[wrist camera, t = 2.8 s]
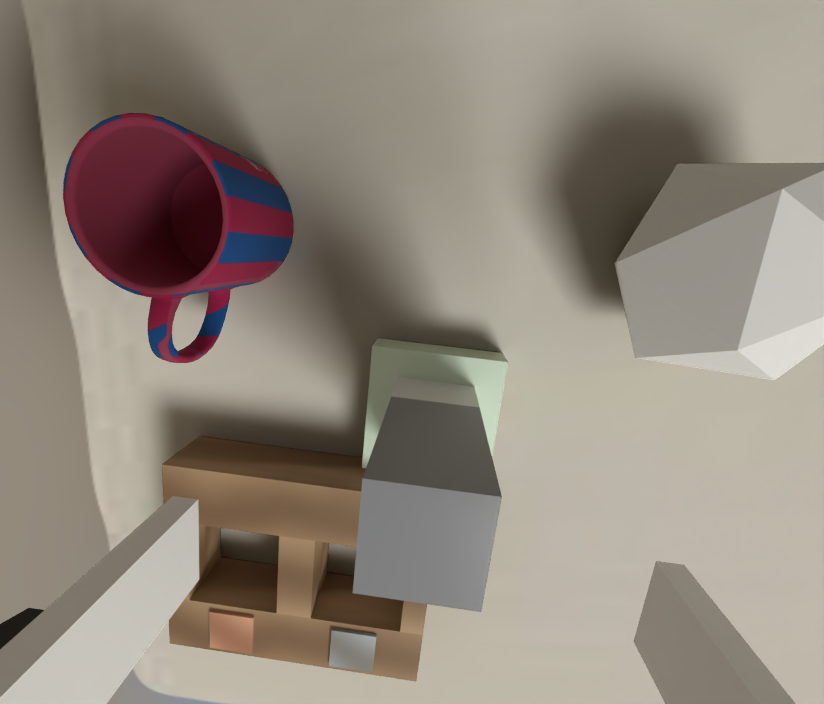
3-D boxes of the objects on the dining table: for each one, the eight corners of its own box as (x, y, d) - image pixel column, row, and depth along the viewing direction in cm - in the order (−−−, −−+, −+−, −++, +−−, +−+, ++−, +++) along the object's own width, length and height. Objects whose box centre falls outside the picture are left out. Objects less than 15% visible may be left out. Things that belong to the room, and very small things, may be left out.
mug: (304, 174, 22) (244, 138, 15) (272, 353, 24) (208, 392, 17) (181, 141, 22) (66, 91, 15) (161, 324, 24) (55, 350, 17)
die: (604, 373, 24) (849, 449, 15) (533, 274, 18) (848, 312, 10) (674, 255, 25) (938, 268, 17) (626, 130, 19) (977, 62, 11)
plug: (398, 377, 22) (362, 478, 12) (474, 386, 21) (501, 497, 12) (390, 446, 23) (352, 593, 13) (464, 456, 22) (481, 611, 13)
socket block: (199, 436, 25) (159, 466, 22) (441, 468, 25) (441, 504, 21) (202, 596, 28) (167, 646, 25) (419, 628, 28) (416, 684, 24)
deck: (377, 338, 23) (372, 345, 21) (502, 352, 23) (508, 362, 21) (368, 451, 25) (361, 467, 23) (483, 466, 25) (487, 484, 23)
